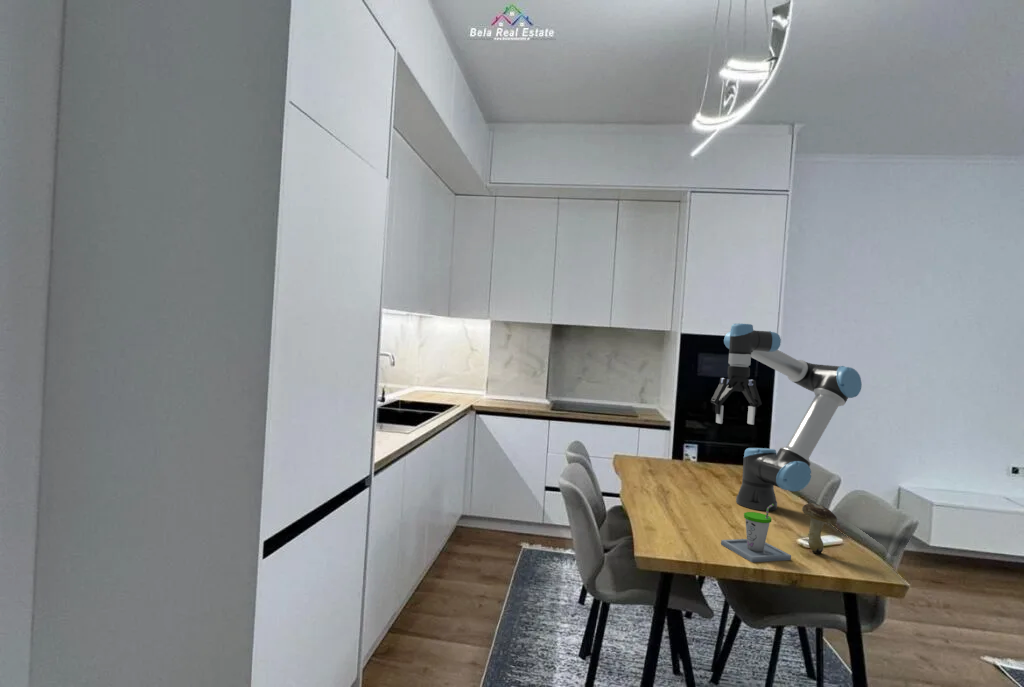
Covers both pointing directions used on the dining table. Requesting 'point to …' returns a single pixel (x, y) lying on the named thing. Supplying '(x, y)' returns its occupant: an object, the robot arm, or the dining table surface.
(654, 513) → the dining table surface
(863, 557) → the dining table surface
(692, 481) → the dining table surface
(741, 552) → the tray
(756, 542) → the cup
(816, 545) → the mushroom
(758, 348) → the robot arm
